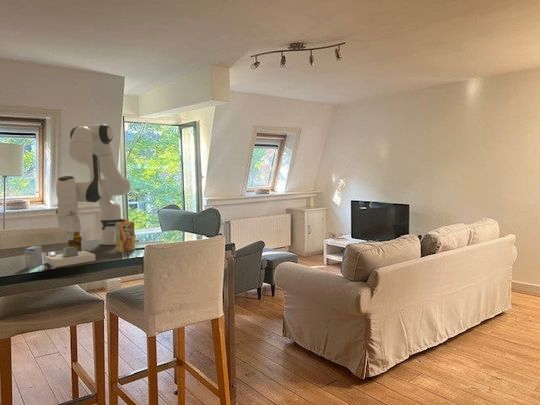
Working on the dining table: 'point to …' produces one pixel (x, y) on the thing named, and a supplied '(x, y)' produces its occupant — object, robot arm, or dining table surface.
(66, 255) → the plug
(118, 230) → the candy box
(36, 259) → the medicine box
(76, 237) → the condiment
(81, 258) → the socket
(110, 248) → the dining table surface
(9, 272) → the dining table surface
